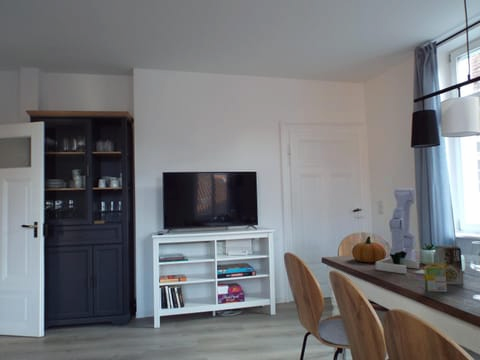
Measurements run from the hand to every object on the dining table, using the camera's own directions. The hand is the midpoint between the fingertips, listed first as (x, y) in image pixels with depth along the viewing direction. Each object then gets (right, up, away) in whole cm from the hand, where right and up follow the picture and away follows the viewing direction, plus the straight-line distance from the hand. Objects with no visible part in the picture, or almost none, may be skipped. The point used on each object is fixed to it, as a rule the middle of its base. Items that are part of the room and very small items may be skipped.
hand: (398, 266), depth 180 cm
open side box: (0, -2, 0) cm, 2 cm away
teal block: (0, -2, 0) cm, 2 cm away
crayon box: (-5, +1, -42) cm, 43 cm away
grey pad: (+9, -1, -10) cm, 14 cm away
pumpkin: (-7, -4, +25) cm, 26 cm away
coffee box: (+8, 0, -30) cm, 31 cm away
